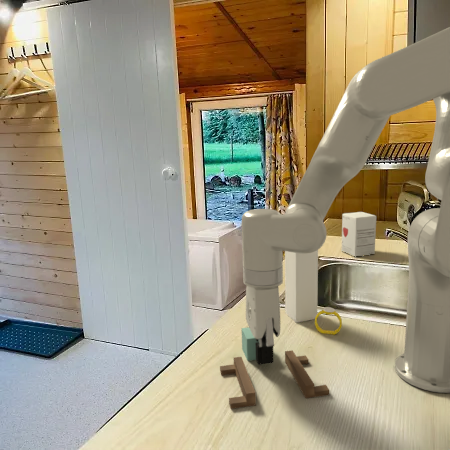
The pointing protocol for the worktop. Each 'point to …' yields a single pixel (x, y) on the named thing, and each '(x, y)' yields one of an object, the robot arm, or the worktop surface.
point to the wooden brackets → (248, 389)
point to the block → (248, 344)
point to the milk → (301, 285)
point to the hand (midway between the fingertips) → (264, 361)
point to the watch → (329, 312)
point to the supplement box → (358, 233)
